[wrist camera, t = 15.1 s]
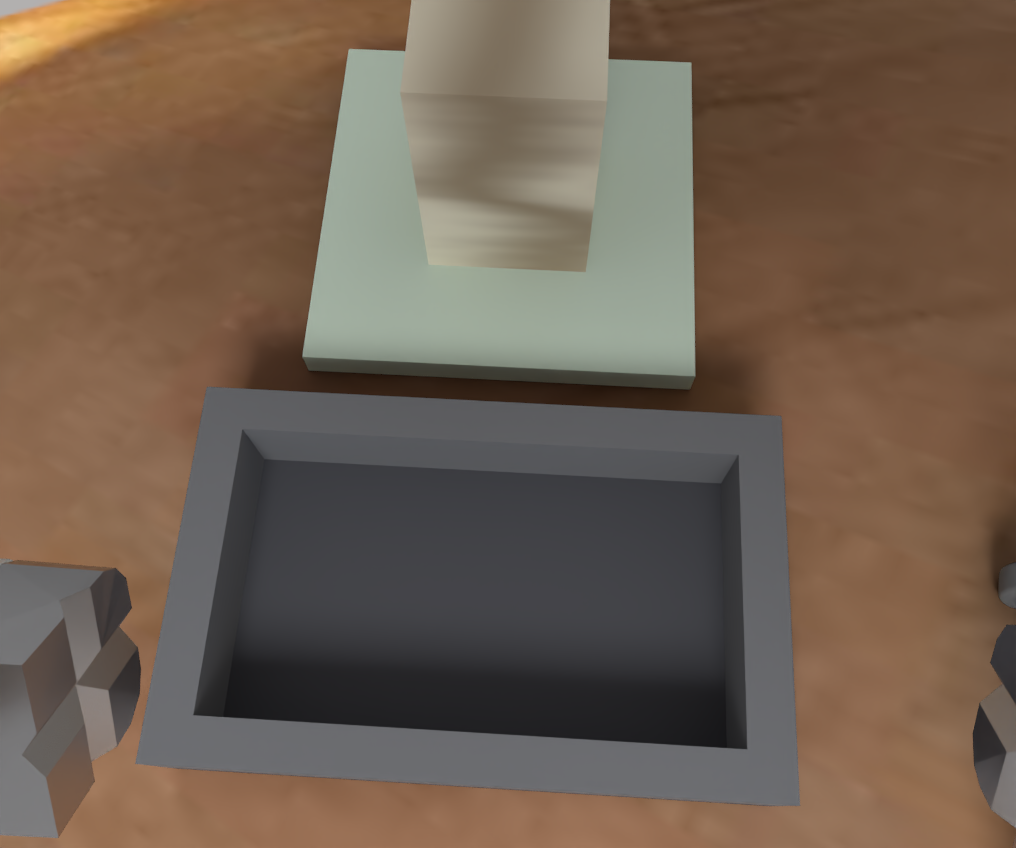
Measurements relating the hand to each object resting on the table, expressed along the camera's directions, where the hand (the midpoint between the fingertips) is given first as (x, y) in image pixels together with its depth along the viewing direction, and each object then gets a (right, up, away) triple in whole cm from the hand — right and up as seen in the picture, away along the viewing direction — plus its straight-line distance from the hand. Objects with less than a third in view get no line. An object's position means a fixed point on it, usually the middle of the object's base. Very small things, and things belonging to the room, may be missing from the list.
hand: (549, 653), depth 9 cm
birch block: (0, +9, +23) cm, 24 cm away
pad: (0, +9, +24) cm, 25 cm away
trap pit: (-1, -3, +19) cm, 19 cm away
